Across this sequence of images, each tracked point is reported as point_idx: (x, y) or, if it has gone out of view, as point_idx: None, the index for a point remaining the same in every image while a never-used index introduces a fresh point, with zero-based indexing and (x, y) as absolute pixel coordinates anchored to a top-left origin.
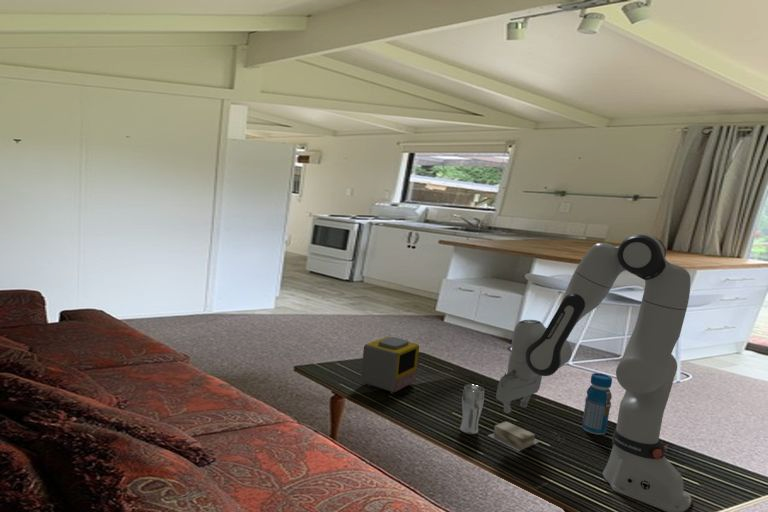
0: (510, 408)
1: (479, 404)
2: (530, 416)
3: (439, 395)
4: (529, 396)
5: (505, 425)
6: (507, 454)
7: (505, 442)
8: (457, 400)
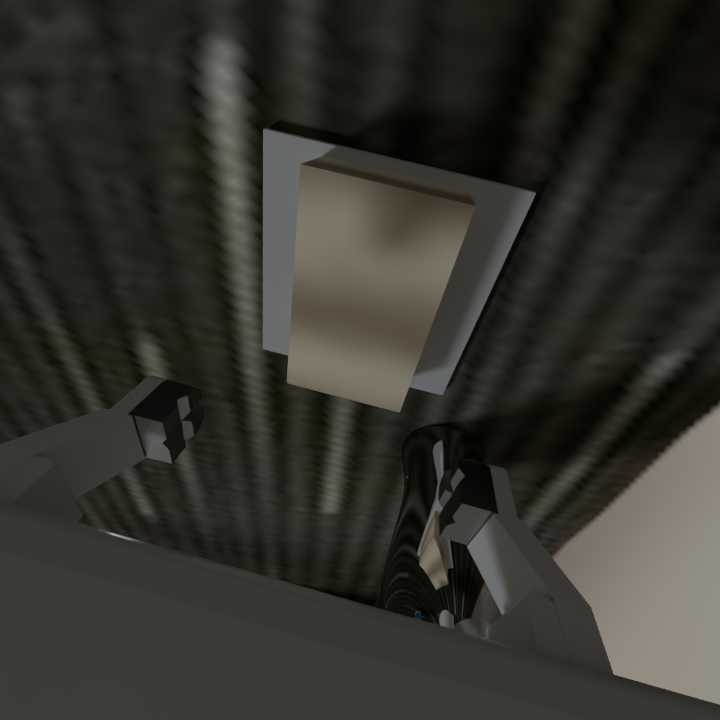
0: (480, 502)
1: (489, 606)
2: (36, 306)
3: (254, 548)
4: (24, 463)
5: (346, 372)
6: (604, 243)
7: (459, 306)
8: (231, 516)
